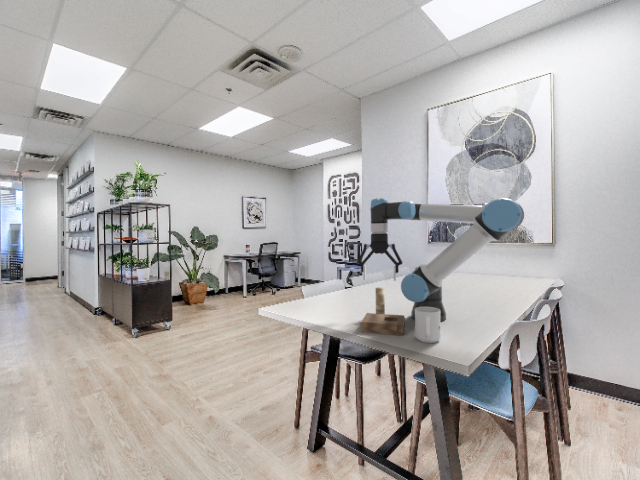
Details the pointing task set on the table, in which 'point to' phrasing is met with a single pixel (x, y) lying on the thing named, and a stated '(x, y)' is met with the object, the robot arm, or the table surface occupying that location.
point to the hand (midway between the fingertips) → (379, 279)
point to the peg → (380, 300)
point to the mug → (427, 324)
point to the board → (383, 324)
